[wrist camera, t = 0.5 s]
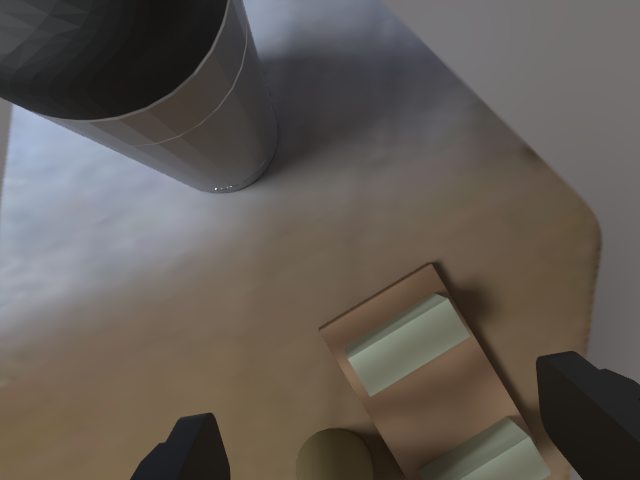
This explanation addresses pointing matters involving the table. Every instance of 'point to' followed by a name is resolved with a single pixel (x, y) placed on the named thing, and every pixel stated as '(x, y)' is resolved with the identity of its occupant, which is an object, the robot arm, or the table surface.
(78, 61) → the robot arm
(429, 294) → the endcap cradle
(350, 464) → the cork
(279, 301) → the table surface
